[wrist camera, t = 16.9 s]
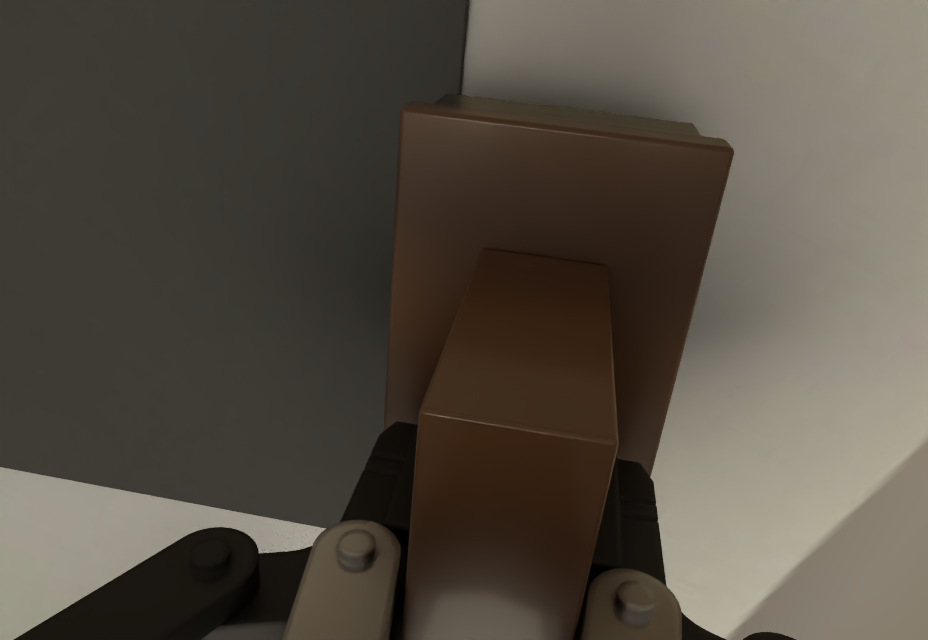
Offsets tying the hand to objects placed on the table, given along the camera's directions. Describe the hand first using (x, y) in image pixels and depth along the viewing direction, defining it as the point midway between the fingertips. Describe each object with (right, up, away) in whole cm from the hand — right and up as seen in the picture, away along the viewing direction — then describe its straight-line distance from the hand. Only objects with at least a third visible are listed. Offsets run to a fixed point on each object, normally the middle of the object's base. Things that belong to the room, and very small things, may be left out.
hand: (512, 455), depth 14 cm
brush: (+1, +2, +3) cm, 4 cm away
